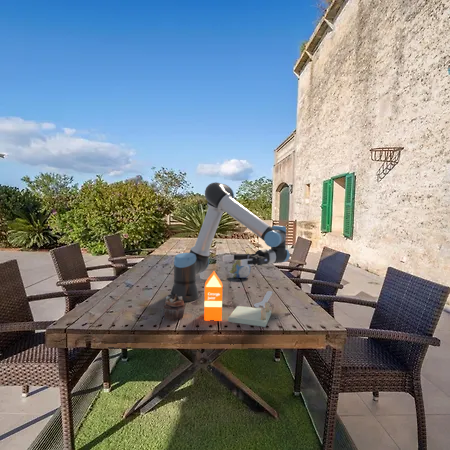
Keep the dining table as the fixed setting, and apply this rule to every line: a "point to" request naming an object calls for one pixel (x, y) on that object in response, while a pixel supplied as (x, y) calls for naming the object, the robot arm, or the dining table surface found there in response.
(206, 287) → the orange juice
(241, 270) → the globe
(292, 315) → the dining table surface
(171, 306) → the cupcake
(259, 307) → the wrench
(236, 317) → the plinth
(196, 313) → the dining table surface
